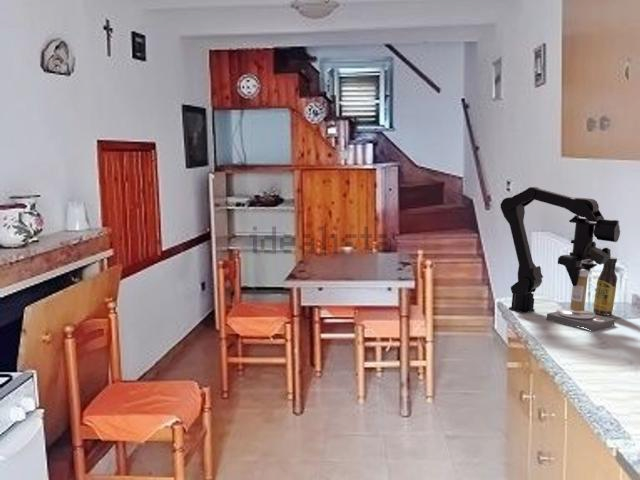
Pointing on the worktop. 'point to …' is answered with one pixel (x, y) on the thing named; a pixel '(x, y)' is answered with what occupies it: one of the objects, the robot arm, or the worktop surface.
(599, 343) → the worktop surface
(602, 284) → the sauce bottle
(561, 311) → the scale pan
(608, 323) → the scale
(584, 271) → the sprinkles bottle
